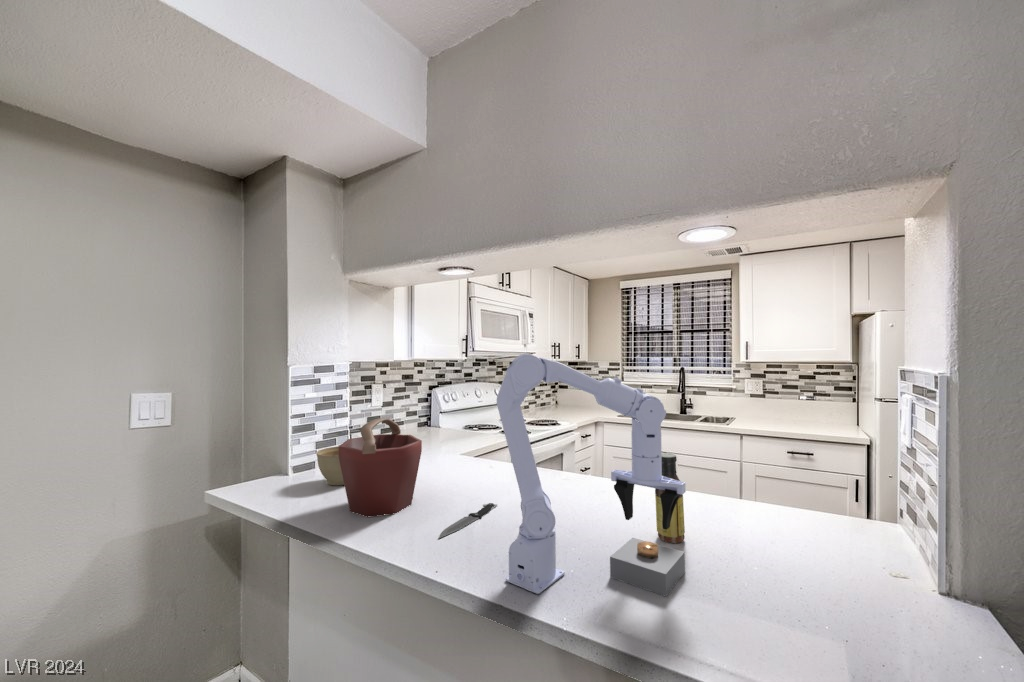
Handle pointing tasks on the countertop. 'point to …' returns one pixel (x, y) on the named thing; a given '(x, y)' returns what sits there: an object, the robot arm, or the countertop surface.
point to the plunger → (647, 549)
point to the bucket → (380, 469)
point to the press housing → (648, 567)
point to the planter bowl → (330, 465)
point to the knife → (467, 520)
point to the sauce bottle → (677, 520)
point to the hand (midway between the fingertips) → (647, 522)
